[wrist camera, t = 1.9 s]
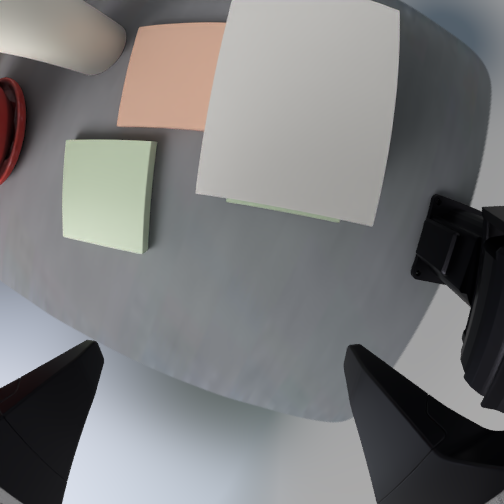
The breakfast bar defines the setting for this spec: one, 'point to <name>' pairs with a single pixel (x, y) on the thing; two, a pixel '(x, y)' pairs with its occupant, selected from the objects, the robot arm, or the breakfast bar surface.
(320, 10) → the grey unit
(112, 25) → the cream bottle
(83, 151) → the sage green pad
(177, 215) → the breakfast bar surface
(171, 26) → the terracotta pad
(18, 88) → the plant pot
